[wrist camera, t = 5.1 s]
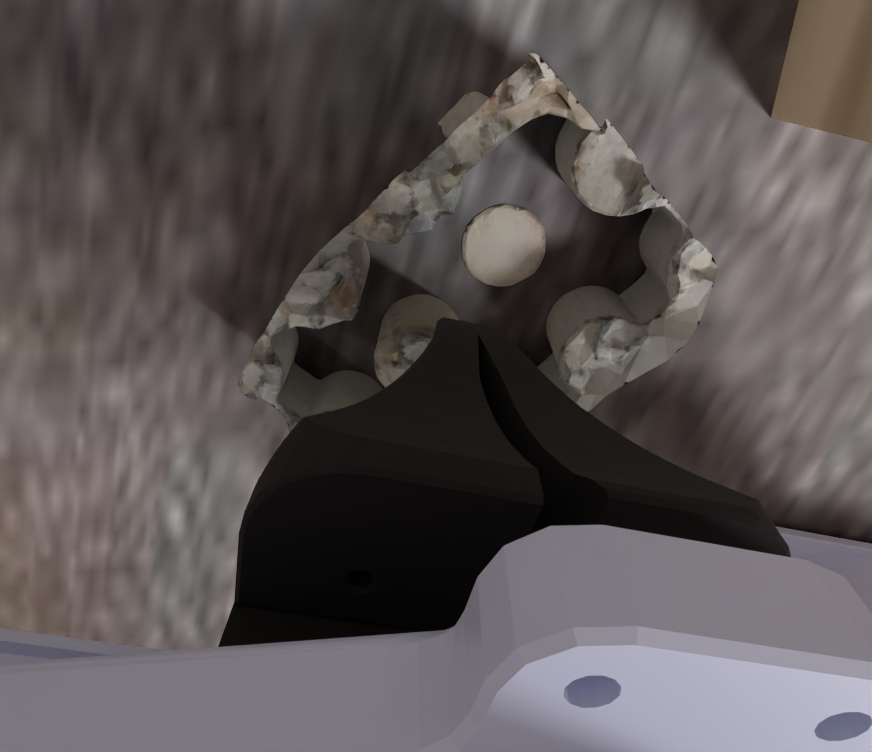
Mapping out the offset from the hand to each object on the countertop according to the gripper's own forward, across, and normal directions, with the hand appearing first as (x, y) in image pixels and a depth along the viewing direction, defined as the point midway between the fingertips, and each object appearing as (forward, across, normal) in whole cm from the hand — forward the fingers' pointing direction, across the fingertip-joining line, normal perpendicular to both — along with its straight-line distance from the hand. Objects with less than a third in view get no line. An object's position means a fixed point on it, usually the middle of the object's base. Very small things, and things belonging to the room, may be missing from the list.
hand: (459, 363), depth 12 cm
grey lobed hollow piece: (+5, 0, 0) cm, 5 cm away
